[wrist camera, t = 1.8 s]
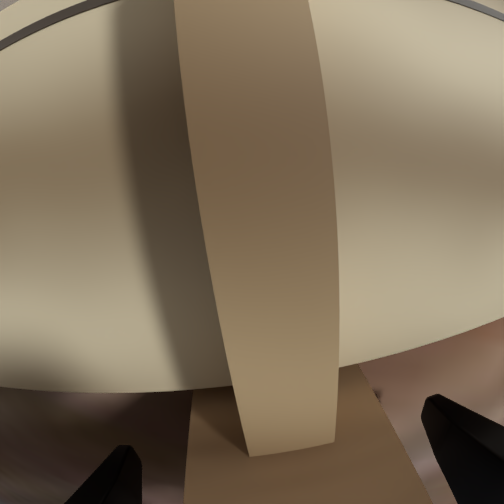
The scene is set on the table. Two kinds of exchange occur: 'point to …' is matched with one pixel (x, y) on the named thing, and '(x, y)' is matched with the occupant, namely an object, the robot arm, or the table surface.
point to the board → (186, 201)
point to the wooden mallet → (275, 273)
